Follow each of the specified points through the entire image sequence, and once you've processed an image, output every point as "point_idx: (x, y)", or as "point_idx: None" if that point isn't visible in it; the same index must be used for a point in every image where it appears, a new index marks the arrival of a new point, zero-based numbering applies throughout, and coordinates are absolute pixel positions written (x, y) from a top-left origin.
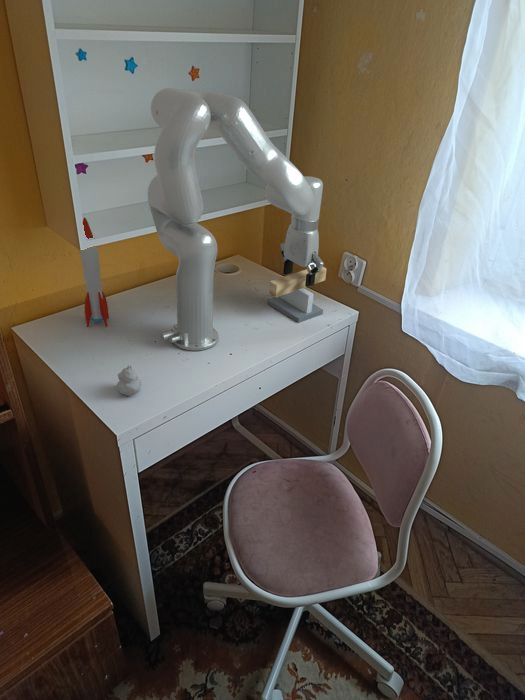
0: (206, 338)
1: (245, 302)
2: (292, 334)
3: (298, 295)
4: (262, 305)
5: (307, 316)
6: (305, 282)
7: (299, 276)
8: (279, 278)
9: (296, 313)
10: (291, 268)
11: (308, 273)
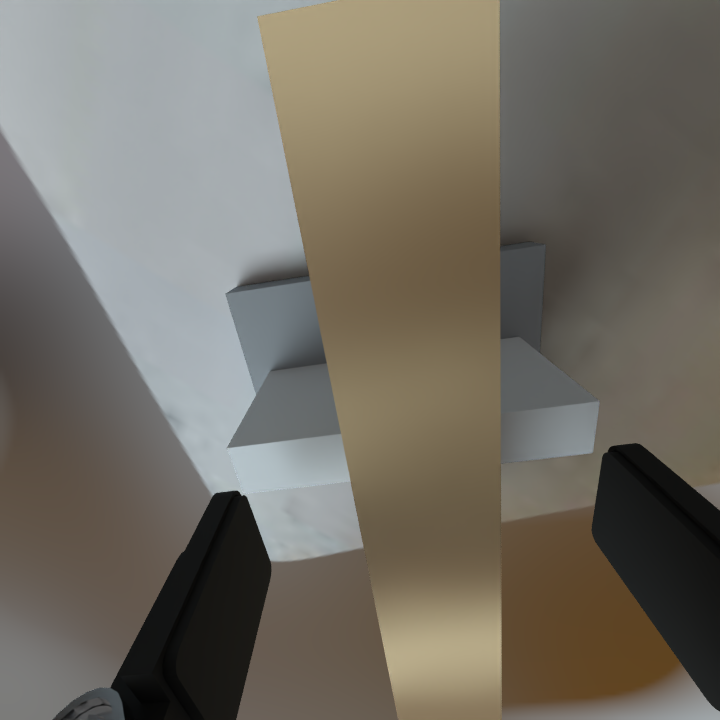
0: None
1: (655, 80)
2: (109, 164)
3: None
4: (538, 190)
5: (249, 361)
6: (227, 525)
7: (386, 545)
8: (487, 261)
9: (290, 315)
10: (632, 575)
11: (123, 705)
